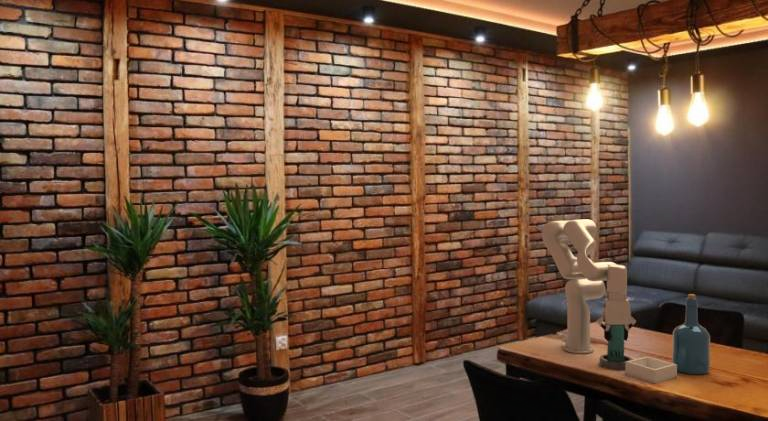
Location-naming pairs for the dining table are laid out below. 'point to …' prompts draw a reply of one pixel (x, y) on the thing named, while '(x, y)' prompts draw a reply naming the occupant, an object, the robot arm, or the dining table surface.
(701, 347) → the wine bottle
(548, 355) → the dining table surface
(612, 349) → the beverage bottle
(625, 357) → the holder ring
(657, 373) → the bin
